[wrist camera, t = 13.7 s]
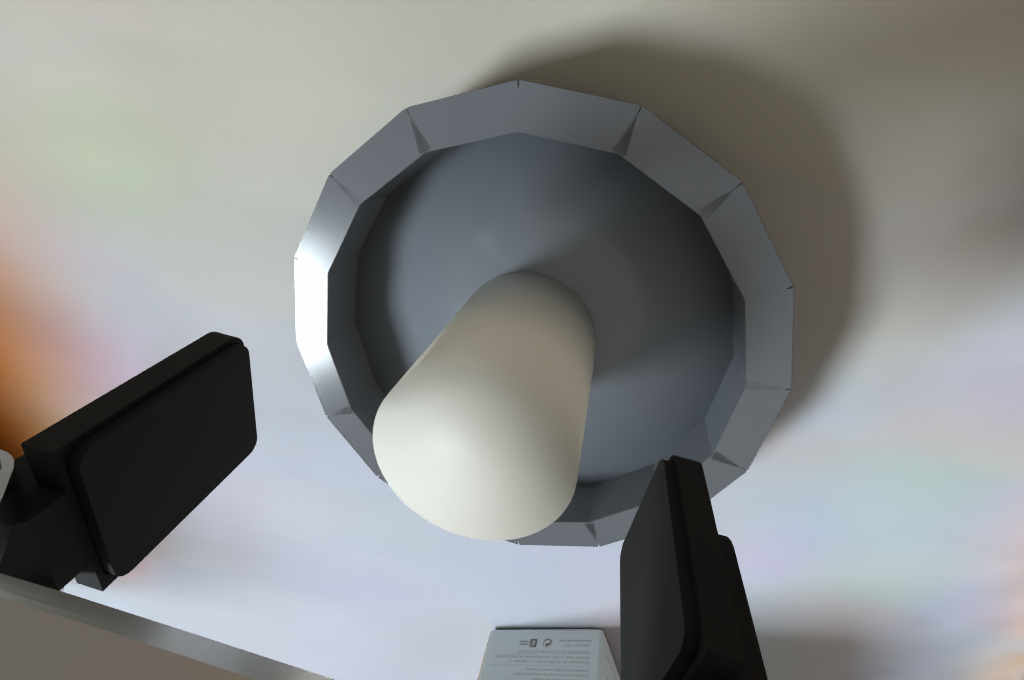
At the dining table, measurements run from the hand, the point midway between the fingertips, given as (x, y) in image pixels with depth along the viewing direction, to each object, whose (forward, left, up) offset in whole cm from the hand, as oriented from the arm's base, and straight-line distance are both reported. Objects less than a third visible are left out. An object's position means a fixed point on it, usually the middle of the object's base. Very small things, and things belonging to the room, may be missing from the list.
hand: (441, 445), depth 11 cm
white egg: (+1, +1, -8) cm, 8 cm away
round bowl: (+1, +1, -8) cm, 8 cm away
